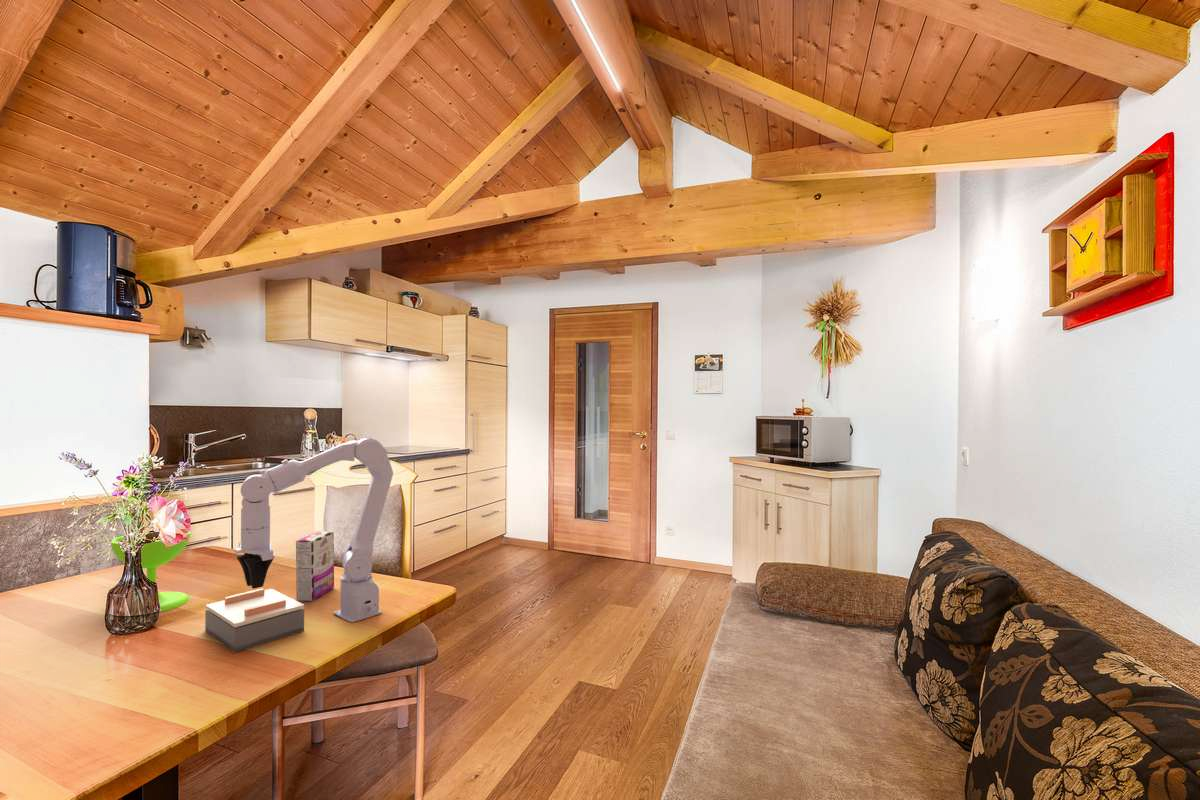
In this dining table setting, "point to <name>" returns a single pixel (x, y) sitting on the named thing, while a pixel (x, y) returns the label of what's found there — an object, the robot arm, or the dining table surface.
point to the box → (254, 630)
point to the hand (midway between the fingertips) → (255, 586)
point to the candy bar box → (314, 565)
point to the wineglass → (152, 558)
